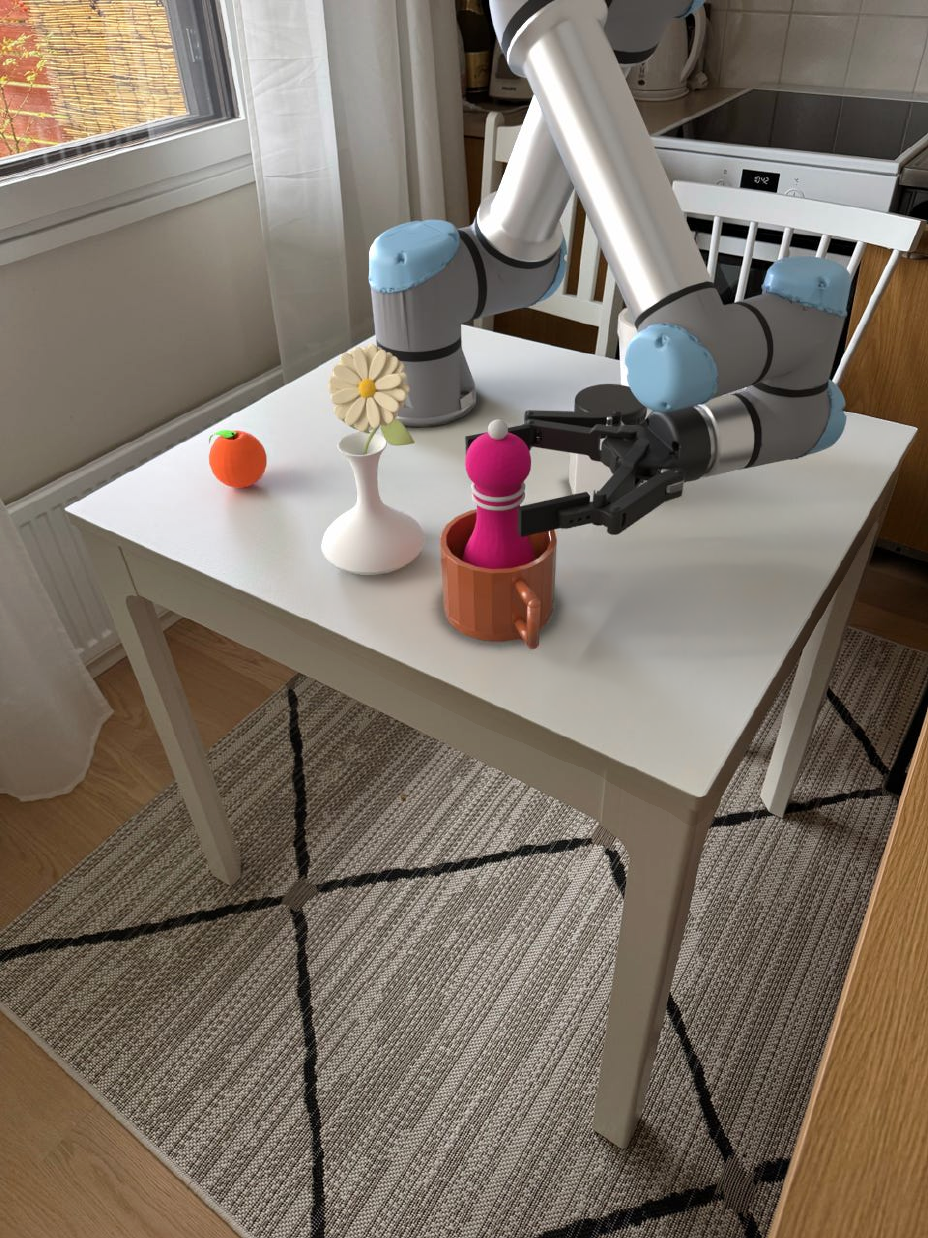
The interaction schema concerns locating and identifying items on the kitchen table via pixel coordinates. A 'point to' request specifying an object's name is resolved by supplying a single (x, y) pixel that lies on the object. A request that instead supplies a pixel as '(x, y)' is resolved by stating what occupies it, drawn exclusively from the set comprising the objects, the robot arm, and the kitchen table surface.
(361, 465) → the flower in vase
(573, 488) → the jar
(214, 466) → the clementine
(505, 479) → the pepper mill
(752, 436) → the robot arm
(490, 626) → the terracotta coffee mug
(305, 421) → the kitchen table surface
